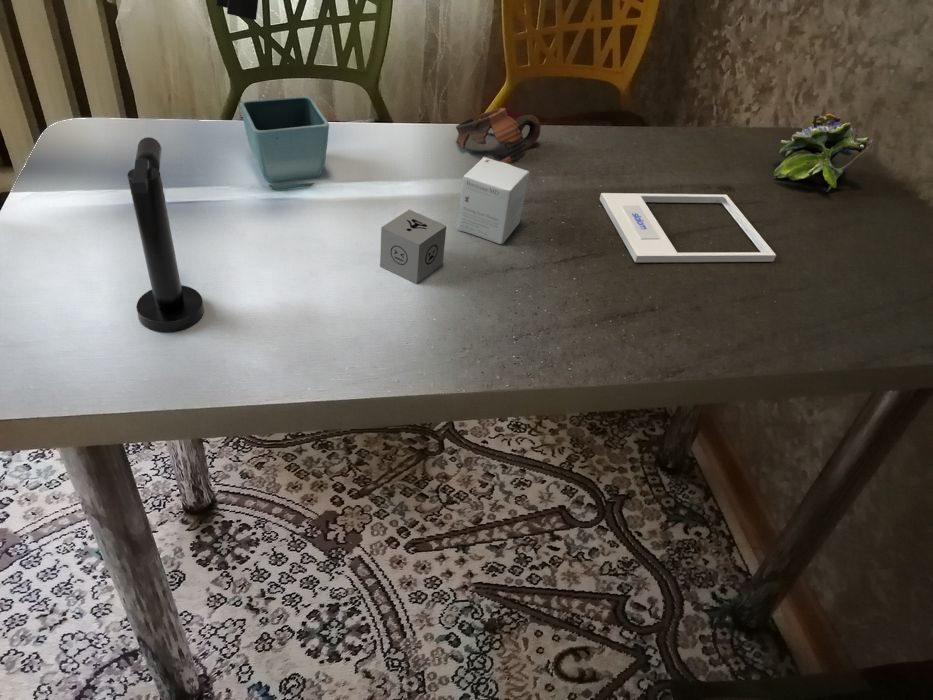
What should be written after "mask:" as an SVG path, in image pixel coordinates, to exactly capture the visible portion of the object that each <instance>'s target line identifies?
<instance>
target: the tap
mask: <svg viewBox="0 0 933 700" xmlns="http://www.w3.org/2000/svg"><path fill="white" fill-rule="evenodd" d="M161 159H162V146H161V143H160V142H159V140H157V139H156V138H153V137H150V136H149V137H144V138H142V139H140V140H139V142H138V144H137V149H136V155H135V161H134V167H133V168H132V169H130V170H129V171H128V172H127V174H126V175H127V180H128V185H129V190H130V195H131V199H132V200H131V201H132V204H133V209H134V213H135V217H136V222H137V227H138V231H139V236H140V241H141V245H142V251H143V254H144V259H145V264H146V268H147V269H146V270H147V274H148V278H149V283H150V286H151V289H150V290H148V291H146V292H145V293H143V294H142V295H141V296H140V297H139V298H138V300H137V302H136V307H135V308H136V313H137V316H138V320H139V322H140V323H141V325H142V326H144V327H145V328H147V329H149V330H152V331H155V332H159V333H160V332H161V333H172V332H173V333H174V332H178V331H183V330H185V329H188V328H190V327H192V326H194V325H195V324H197V323H198V322H199V321H200V320H201V318H202V317H203V315H204V312H205V309H204V300H203V297H202V295H201V294H200V292H199V291H197V290H196V289H194V287H193V288H192V287H190V286H188V285H183V284H182V283H181V278H180V273H179V268H178V267H179V266H178V262H177V256H176V251H175V246H174V240H173V234H172V229H171V224H170V219H169V212H168V208H167V207H168V206H167V203H166V197H165V196H166V195H165V192H164V185H163V179H162V176H161V175H162V174H161V171H160V169H161Z"/></svg>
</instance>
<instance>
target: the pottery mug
mask: <svg viewBox="0 0 933 700" xmlns="http://www.w3.org/2000/svg"><path fill="white" fill-rule="evenodd" d="M526 126H528V127H529V130H528V133H527V135H526V136H525V137H524V136H523V135H524V134H523V129H525V127H526ZM541 127H542V126H541V123H540V120H539V119H538V118H537V117H536V116H535V115H533V114H525V115H521V116H518V117H512V116H509V115H508V112H507V108H505V107H499V108H496V109H492V110H489V111H486V112H483V113H481V114H479V119H476V120H474V118H473V117H470V118H467V119H466V120H464V121H461V122H460V123H458V124H457V125H456V126H455V129H456V131H457V133H458V134H457V137H456V141H455V142H456V143H457V144H458V145H460V147H461V149H462V150H464V149H465V148H466V144H467V141H468V139H469V138H470V139H471V140H473V141H474V142H476V144H478V145H486V144H487V141H486V140H487V139H486V138H487V137H488V136H487V135H488V133H489V131H490V130H492V131H493V134H494V138H495V140H497V142H499V144H504V146H505V149H506V151H507V156H506V157H505V158H503V159H501V160H498V161H499V162H503V163H507V164H510V165H512V164H514V163H515V164H516V163H517V162H520V160H521V159H523V157H524V156H525V155H526V151H527V150H528V149H530V148H531V147H533V146H534V144H535V143H536V142H537V141H538V139H539V137H540V135H541Z"/></svg>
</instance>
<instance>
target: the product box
mask: <svg viewBox="0 0 933 700" xmlns="http://www.w3.org/2000/svg"><path fill="white" fill-rule="evenodd" d="M499 161H500V160H495V159H492V158H490V157H486V156H483V157H482V158H481V159H480V160H479V161H478V162H477V163H476V164H475V165H474V166H473V167H472V168H471V169H470V170H468V171H467V173H465V174H464V175H463V178H462V188H461V194H460V202H459V211H458V219H457V220H458V221H457V230H458V231H460V232H464V233H467V234H470V235H473V236H476V237H478V238H481V239H485V240H487V241H489V242H492V243H495V244H498V245H504V244H505V242H506V241H507V239H508V238H509V237H510V235H511V234H512V233H513V232H514V231H515V229H516V228H517V227H518V226H519V225H520V223H521V218H522V212H523V209H524V203H525V198H526V193H527V186H528V181H529V176H530V171H529V170H526V169H524V168H521V167H517V166H514V165H512V164H507V163H503V162H499Z"/></svg>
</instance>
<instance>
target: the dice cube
mask: <svg viewBox="0 0 933 700" xmlns="http://www.w3.org/2000/svg"><path fill="white" fill-rule="evenodd" d="M446 234H447V225H446V224H444V223H442V222H439V221H437V220H435V219H432V218H430V217H428V216H425V215H423V214H421V213H418V212H416V211H414V210H412V209H407V210H406V211H405V212H402V214H400V215H398V216H397V217H395V218H394V219H392V220H390V221H389V222H387V223H386V224H383V225H382V226H381V227H380V250H379V251H380V253H379V256H380V257H379V267H380V268H383V269H385V270H387V271H389V272H392V273H394V274H395V275H397V276H400V277H402V278H404V279H406V280H408V281H410V282H412V283H414V284H416V285H417V284H418V283H420V282H421V281H422V280H424V279H425V278H426V277H428V276H430V275H431V274H432V273H433V272H434V271H435V270H437V269H438V268H440V267H441V266H442V265H443V264H444V258H445V257H444V255H445V247H446Z"/></svg>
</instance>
